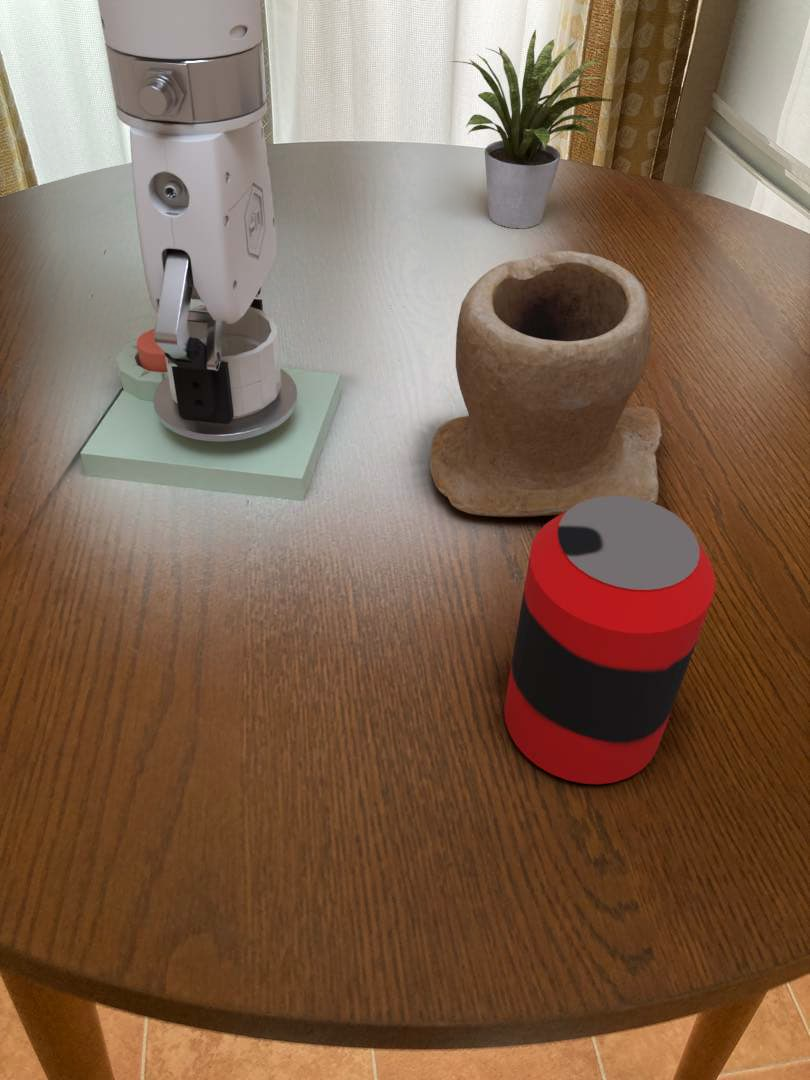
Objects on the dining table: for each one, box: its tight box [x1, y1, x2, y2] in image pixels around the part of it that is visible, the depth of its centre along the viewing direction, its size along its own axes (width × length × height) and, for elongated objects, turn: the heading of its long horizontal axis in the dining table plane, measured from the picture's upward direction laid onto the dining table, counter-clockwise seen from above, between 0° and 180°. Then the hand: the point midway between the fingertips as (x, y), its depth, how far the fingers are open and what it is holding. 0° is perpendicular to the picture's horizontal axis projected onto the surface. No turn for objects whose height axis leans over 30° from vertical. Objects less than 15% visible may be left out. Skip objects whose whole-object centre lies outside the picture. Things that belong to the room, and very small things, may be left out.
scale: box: [80, 338, 342, 502], centre depth 61 cm, size 15×13×4 cm
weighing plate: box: [153, 367, 297, 441], centre depth 58 cm, size 9×9×1 cm
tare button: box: [137, 328, 168, 372], centre depth 62 cm, size 4×4×2 cm
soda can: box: [503, 496, 716, 785], centre depth 41 cm, size 8×8×12 cm
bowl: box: [165, 304, 281, 420], centre depth 57 cm, size 7×7×4 cm
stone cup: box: [428, 250, 663, 518], centre depth 53 cm, size 15×12×15 cm
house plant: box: [448, 27, 618, 229], centre depth 84 cm, size 14×14×16 cm
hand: (225, 383), depth 58 cm, fingers closed on bowl, 6 cm apart
